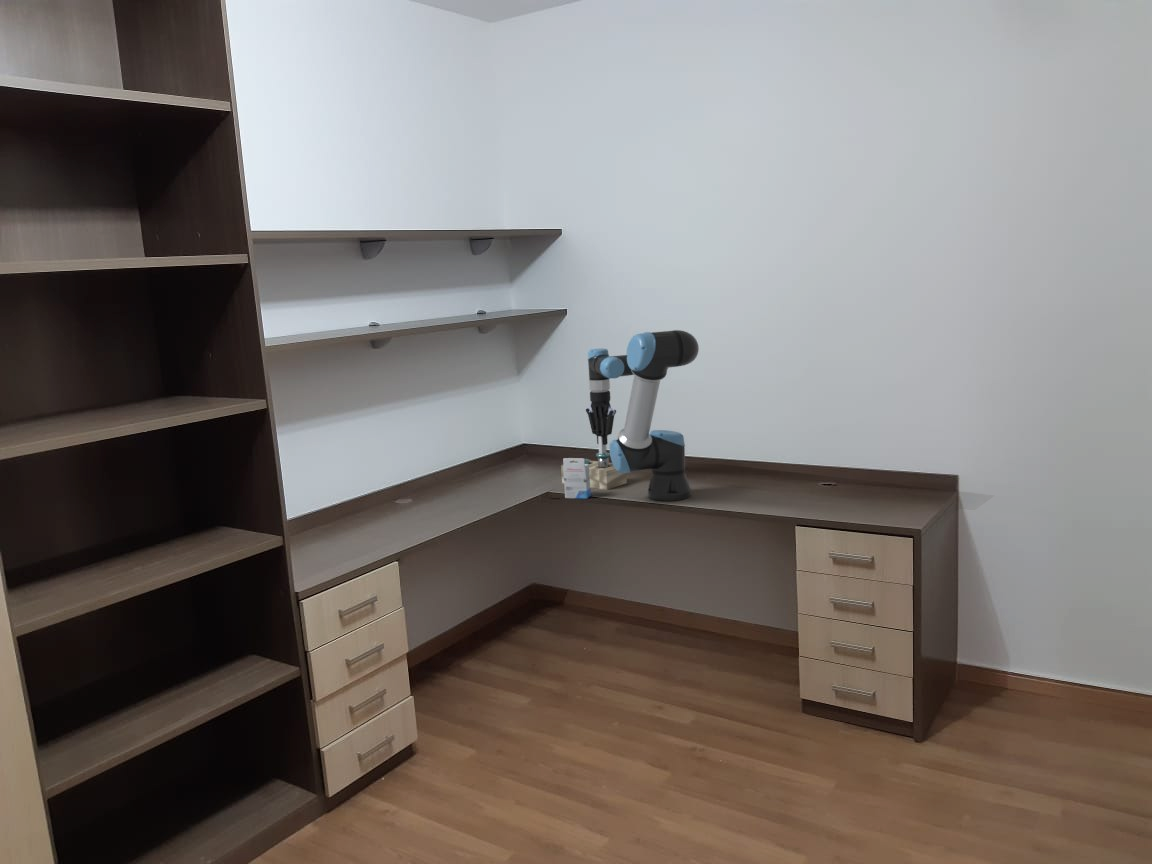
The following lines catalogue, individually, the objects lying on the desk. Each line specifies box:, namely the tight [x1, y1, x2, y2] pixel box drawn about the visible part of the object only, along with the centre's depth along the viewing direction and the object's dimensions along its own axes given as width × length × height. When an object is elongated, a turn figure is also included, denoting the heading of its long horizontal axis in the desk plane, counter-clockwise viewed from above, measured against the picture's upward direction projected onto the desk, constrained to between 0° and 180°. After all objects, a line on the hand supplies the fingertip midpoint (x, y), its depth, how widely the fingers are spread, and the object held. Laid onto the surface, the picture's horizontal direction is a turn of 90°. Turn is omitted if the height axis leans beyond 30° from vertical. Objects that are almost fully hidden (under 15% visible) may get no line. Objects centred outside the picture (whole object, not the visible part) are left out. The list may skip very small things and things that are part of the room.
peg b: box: [595, 451, 611, 468], centre depth 341 cm, size 5×5×8 cm
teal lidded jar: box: [576, 458, 591, 464], centre depth 348 cm, size 5×5×8 cm
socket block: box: [560, 460, 628, 491], centre depth 345 cm, size 22×12×7 cm, turn 49°
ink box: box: [562, 457, 592, 500], centre depth 325 cm, size 9×5×15 cm, turn 71°
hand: (602, 452), depth 340 cm, fingers closed
